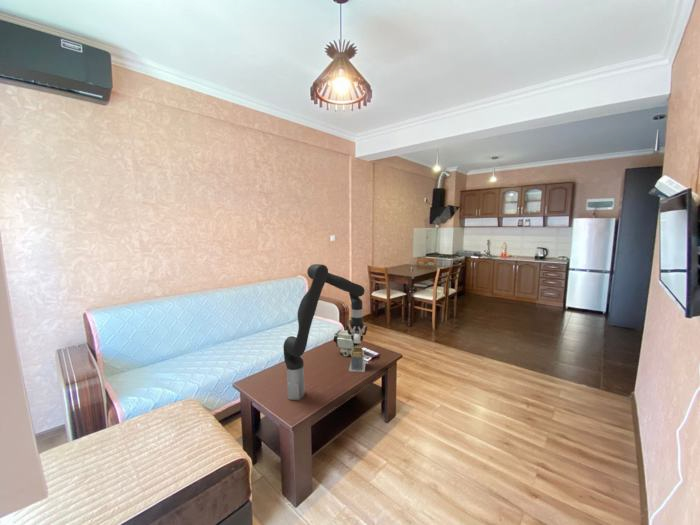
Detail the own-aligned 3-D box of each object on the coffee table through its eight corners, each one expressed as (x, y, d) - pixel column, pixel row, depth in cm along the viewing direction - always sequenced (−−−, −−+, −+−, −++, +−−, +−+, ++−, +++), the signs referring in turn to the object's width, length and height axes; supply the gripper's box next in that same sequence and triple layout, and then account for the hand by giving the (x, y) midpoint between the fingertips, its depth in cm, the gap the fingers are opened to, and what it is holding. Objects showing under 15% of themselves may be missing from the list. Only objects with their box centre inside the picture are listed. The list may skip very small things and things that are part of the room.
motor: (364, 372, 187) (364, 354, 185) (348, 371, 188) (348, 353, 186) (365, 362, 199) (365, 345, 197) (351, 361, 200) (350, 345, 198)
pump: (360, 343, 188) (360, 333, 187) (353, 343, 189) (352, 332, 188) (361, 340, 193) (361, 330, 192) (353, 340, 194) (353, 330, 192)
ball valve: (333, 355, 210) (332, 331, 207) (337, 350, 218) (336, 327, 215) (357, 358, 205) (357, 334, 202) (360, 353, 213) (360, 329, 210)
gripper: (345, 317, 185) (345, 342, 188) (367, 317, 184) (367, 343, 186) (346, 313, 193) (346, 337, 195) (368, 313, 191) (368, 338, 194)
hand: (357, 340), depth 191 cm, fingers closed on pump, 4 cm apart
